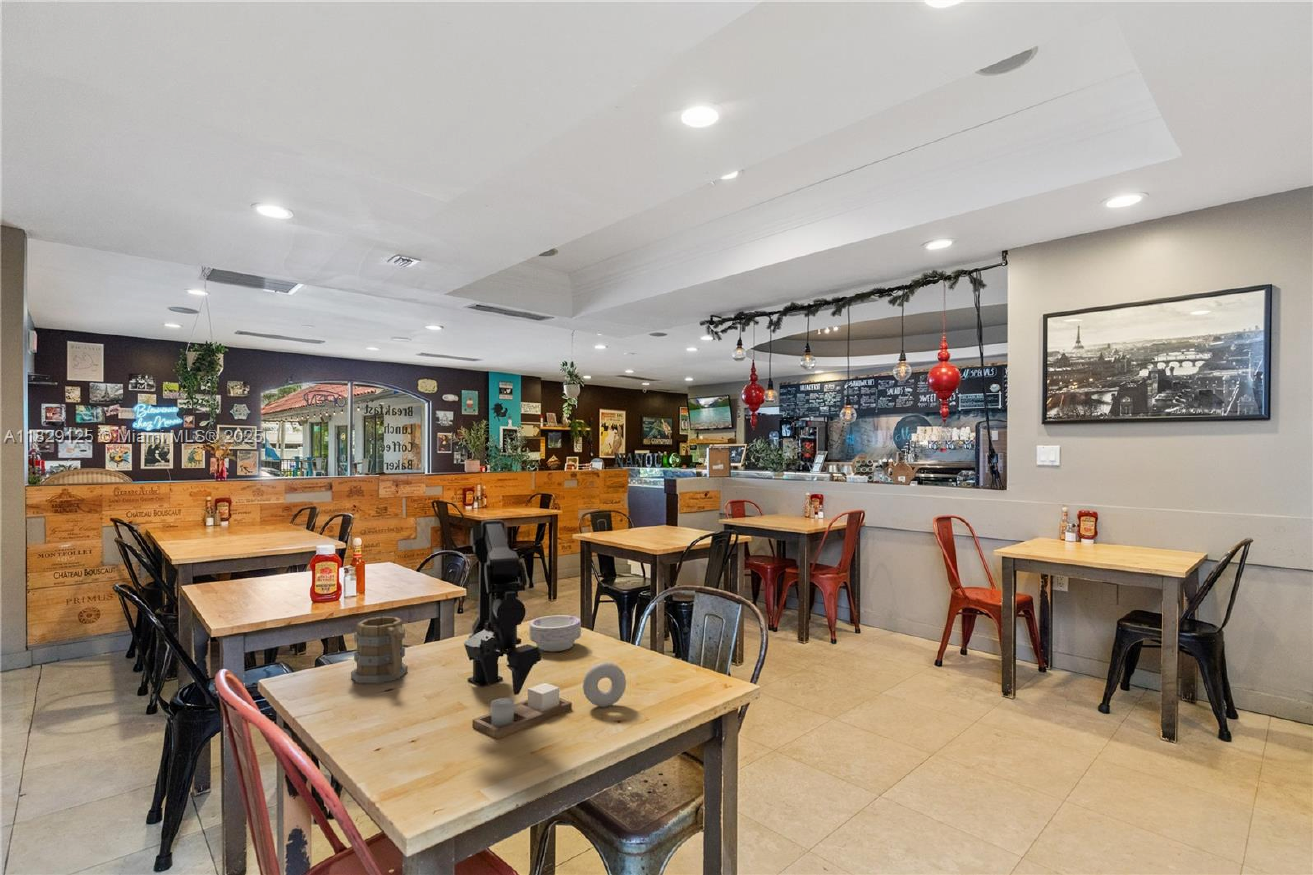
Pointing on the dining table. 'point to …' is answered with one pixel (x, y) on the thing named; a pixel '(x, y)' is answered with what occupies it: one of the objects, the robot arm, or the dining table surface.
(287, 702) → the dining table surface
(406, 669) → the tankard
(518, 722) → the walnut caddy
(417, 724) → the dining table surface
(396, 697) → the dining table surface
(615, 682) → the donut
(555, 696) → the white rounded cube
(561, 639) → the paper bowls
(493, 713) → the salt cellar
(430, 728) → the dining table surface
